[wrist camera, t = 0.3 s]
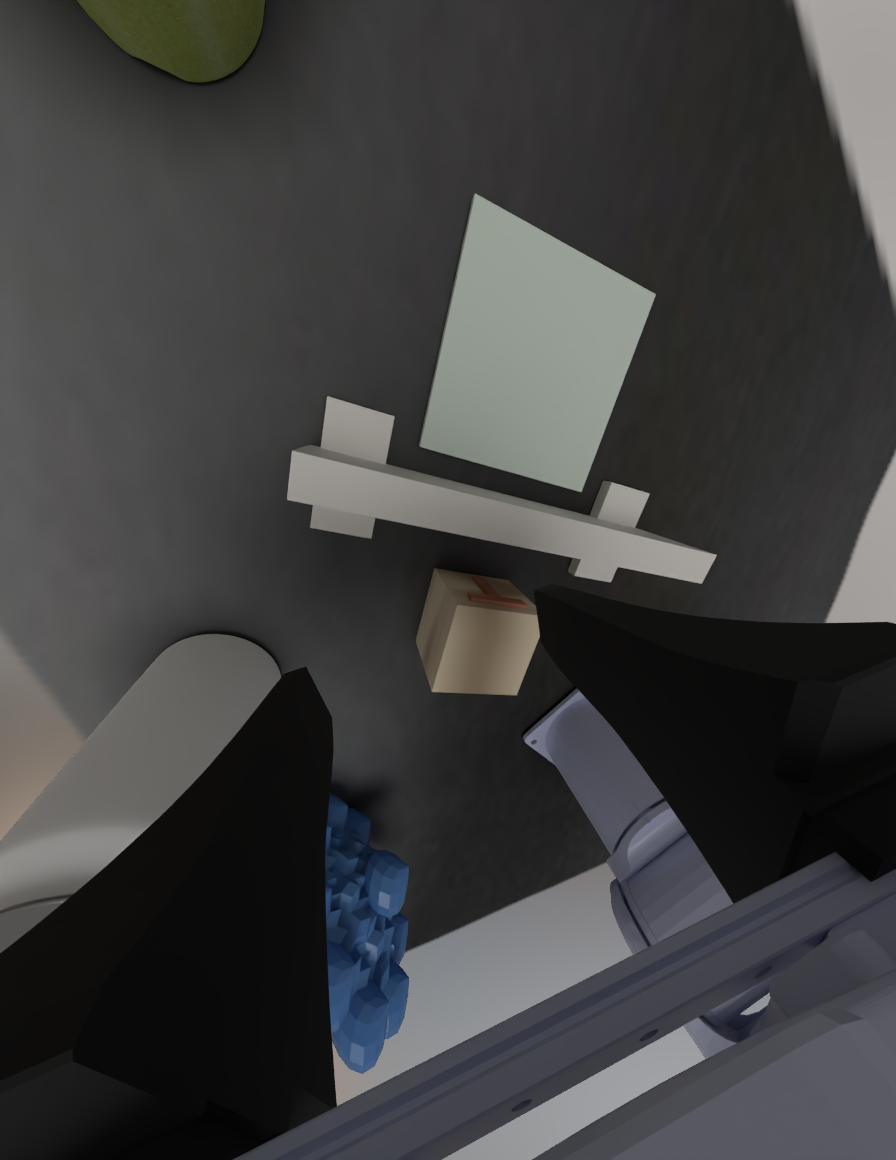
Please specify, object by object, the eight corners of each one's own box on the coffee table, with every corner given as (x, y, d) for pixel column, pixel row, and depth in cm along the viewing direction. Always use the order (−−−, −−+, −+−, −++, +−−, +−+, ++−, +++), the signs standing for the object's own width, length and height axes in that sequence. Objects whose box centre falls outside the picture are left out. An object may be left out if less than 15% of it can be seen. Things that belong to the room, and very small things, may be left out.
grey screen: (646, 493, 22) (739, 512, 17) (608, 578, 24) (682, 620, 19) (316, 394, 16) (300, 375, 10) (301, 522, 18) (280, 560, 12)
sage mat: (649, 297, 18) (655, 294, 17) (577, 491, 21) (581, 492, 21) (472, 199, 15) (475, 193, 14) (418, 446, 18) (419, 446, 17)
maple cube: (508, 576, 22) (548, 613, 18) (485, 646, 24) (516, 695, 19) (434, 564, 21) (458, 601, 16) (415, 639, 22) (431, 691, 18)
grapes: (432, 815, 29) (481, 1037, 19) (363, 858, 29) (371, 1107, 18) (354, 737, 24) (358, 984, 13) (268, 789, 24) (202, 1082, 13)
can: (128, 696, 19) (-161, 1041, 8) (194, 608, 18) (-33, 866, 7) (243, 737, 22) (141, 1034, 11) (305, 663, 21) (259, 907, 10)
